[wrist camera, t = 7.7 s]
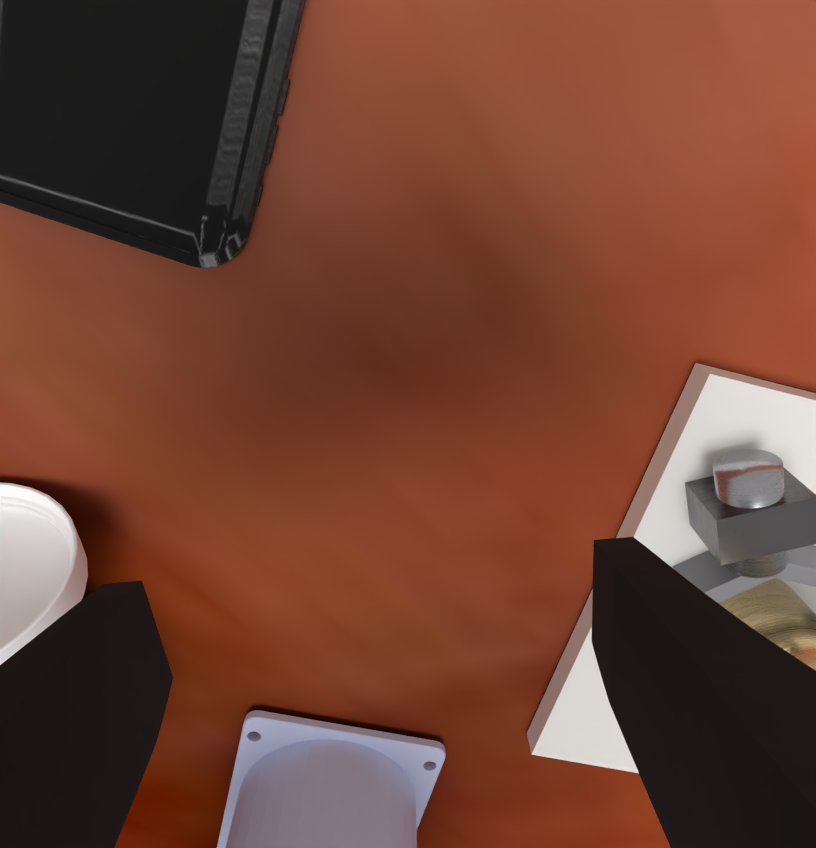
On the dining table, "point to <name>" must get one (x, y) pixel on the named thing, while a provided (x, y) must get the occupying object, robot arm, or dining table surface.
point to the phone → (144, 116)
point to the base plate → (681, 540)
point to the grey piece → (751, 512)
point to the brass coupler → (778, 617)
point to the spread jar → (36, 565)
